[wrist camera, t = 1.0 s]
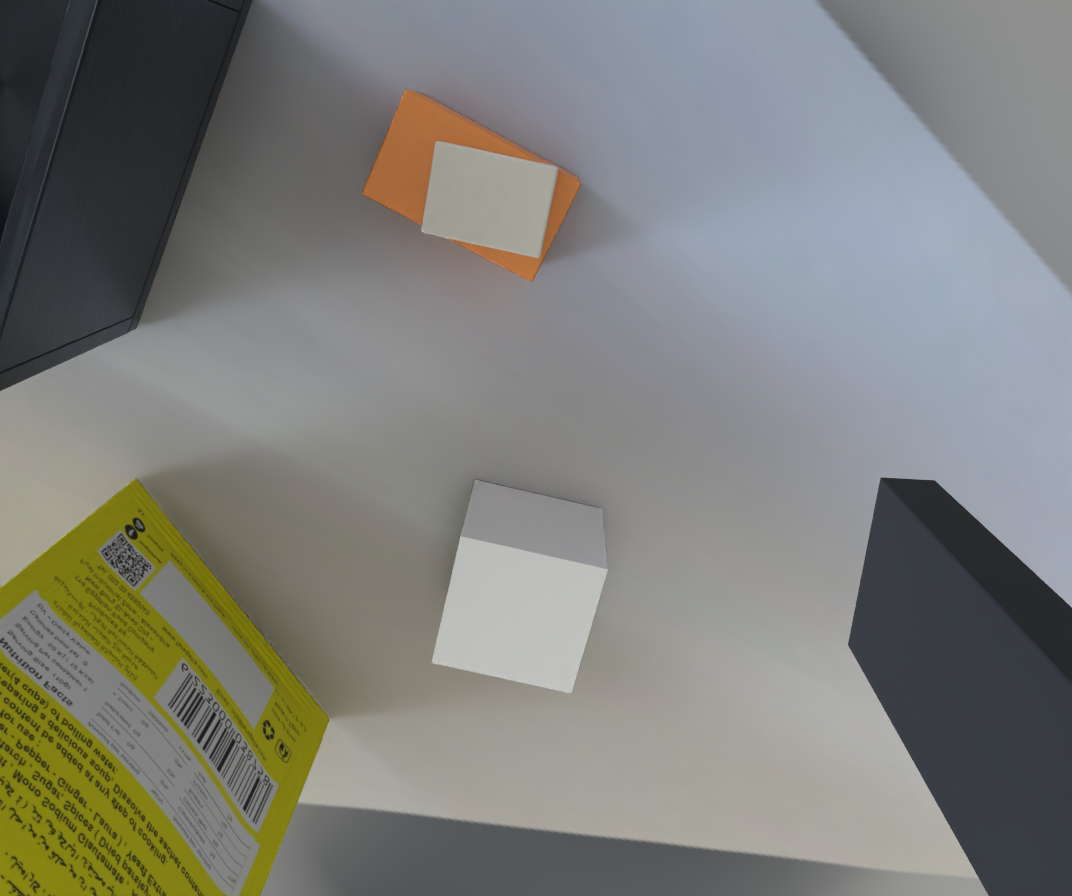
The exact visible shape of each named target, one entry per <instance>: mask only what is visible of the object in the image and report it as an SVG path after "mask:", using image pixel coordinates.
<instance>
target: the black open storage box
mask: <svg viewBox="0 0 1072 896" xmlns="http://www.w3.org/2000/svg"><path fill="white" fill-rule="evenodd" d="M251 1H252V0H0V391H1V390H3V389H6V388H8V387H10V386H12V385H14V384H17V383H19V382H21V381H23V380H25V379H28V378H30V377H32V376H34V375H36V374H39V373H41V372H43V371H45V370H47V369H50V368H52V367H54V366H56V365H58V364H60V363H63V362H65V361H67V360H69V359H71V358H74V357H76V356H78V355H80V354H82V353H85V352H87V351H89V350H91V349H93V348H96V347H98V346H100V345H102V344H104V343H107V342H109V341H111V340H113V339H115V338H118V337H120V336H122V335H124V334H126V333H128V332H130V331H132V330H135V329H136V327H137V324H138V322H139V319H140V316H141V313H142V310H143V307H144V305H145V302H146V299H147V296H148V293H149V290H150V288H151V285H152V282H153V279H154V276H155V273H156V271H157V268H158V265H159V262H160V259H161V256H162V254H163V251H164V248H165V245H166V242H167V239H168V237H169V234H170V231H171V228H172V225H173V222H174V220H175V217H176V214H177V211H178V208H179V205H180V203H181V200H182V197H183V194H184V191H185V188H186V186H187V183H188V180H189V177H190V174H191V171H192V169H193V166H194V163H195V160H196V157H197V154H198V152H199V149H200V146H201V143H202V140H203V137H204V134H205V132H206V129H207V126H208V123H209V120H210V117H211V115H212V112H213V109H214V106H215V103H216V100H217V98H218V95H219V92H220V89H221V86H222V83H223V81H224V78H225V75H226V72H227V69H228V66H229V64H230V61H231V58H232V55H233V52H234V49H235V47H236V44H237V41H238V38H239V35H240V32H241V30H242V27H243V24H244V21H245V18H246V15H247V13H248V10H249V7H250V4H251Z"/></svg>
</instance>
